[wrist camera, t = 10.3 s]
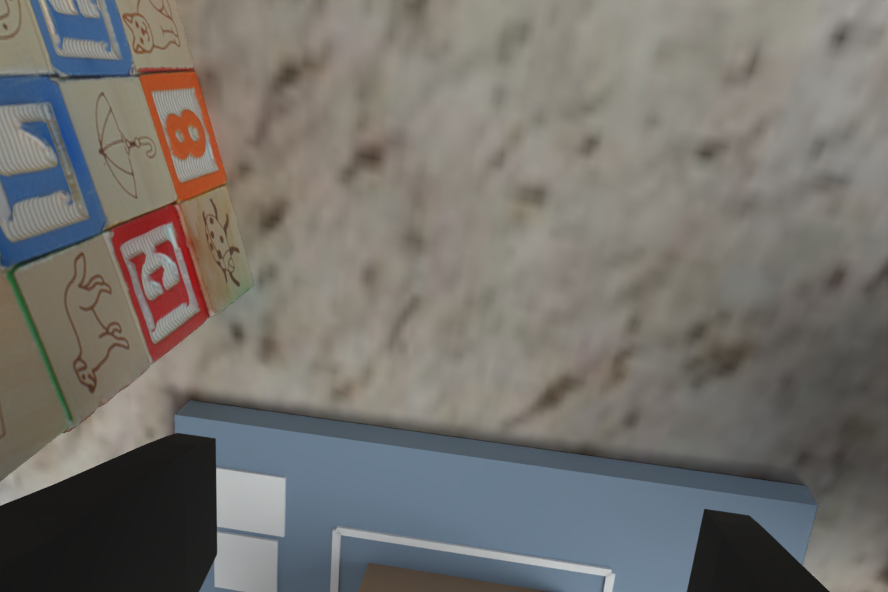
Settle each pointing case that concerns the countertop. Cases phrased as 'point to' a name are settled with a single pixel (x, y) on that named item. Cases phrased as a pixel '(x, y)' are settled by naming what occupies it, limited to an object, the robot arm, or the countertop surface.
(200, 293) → the stack of blocks
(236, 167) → the countertop surface
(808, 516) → the blueprint board
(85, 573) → the robot arm
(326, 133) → the countertop surface
